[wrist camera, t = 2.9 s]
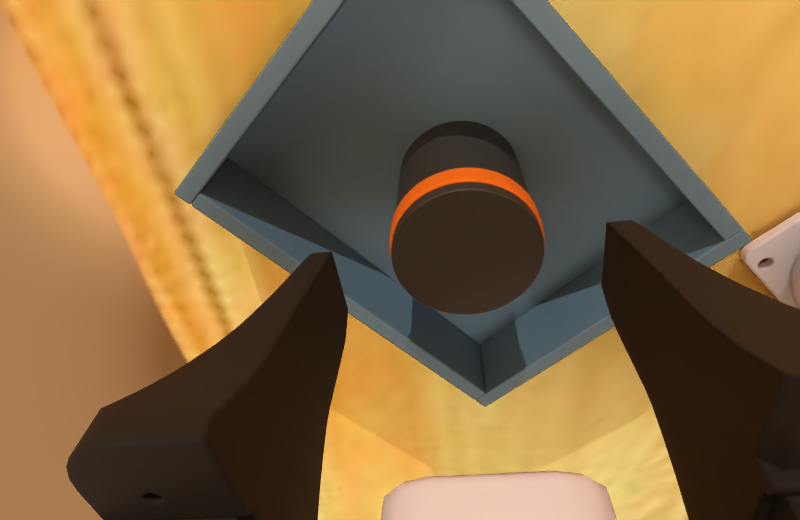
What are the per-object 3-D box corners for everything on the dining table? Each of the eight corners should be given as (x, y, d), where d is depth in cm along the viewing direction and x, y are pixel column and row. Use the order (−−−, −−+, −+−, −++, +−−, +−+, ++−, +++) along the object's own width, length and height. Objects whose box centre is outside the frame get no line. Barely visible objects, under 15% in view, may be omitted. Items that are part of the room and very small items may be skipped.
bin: (706, 191, 19) (753, 240, 16) (478, 350, 24) (484, 407, 21) (421, -139, 14) (419, -149, 11) (210, 151, 19) (172, 194, 16)
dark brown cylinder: (547, 175, 18) (581, 255, 14) (457, 249, 20) (464, 339, 16) (460, 90, 16) (469, 152, 12) (372, 180, 18) (355, 259, 14)
